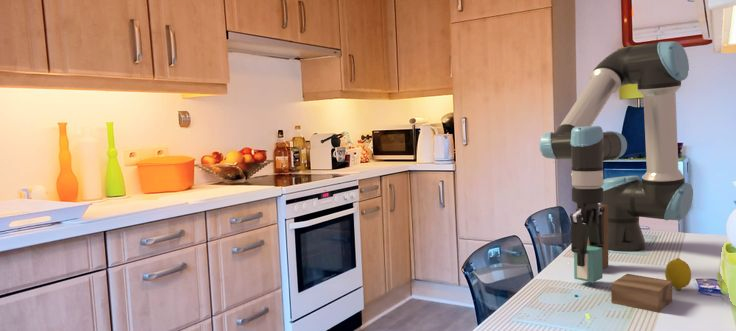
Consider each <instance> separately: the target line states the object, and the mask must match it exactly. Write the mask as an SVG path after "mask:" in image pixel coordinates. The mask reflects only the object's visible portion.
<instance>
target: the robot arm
mask: <svg viewBox="0 0 736 331" xmlns="http://www.w3.org/2000/svg"><path fill="white" fill-rule="evenodd" d="M689 71H690V63H689V58H688V55H687V52H686V50H685V48H684V47H683V45H682V44H681V43H680V42H677V41H674V40H673V41H670V40H669V41H659V42H652V43H647V44H646V43H645V44H639V45H630V46H624V47H620V48H619V49H617V50H614V51H613V52H612V53H610V54H608V55H607V56H606V57H604V59H603V60H601V61H599V63H598V64H597V65H596V66H595V67H594V69H593V71H592V72H591V73H590V75H589V82H587V83H588V84H587V85H586V86H585V88H584V89H583V91H582V92H581V94H580V95H579V97H578V98H577V100H576V101H575V103H574V104H573V105H572V107H571V108H570V110H569V112H568V113H567V114H566V116H565V117H564V119H563V120H562V122H561V123H560V124H559V126H558V128H557V129H556V130H555V132H552V131H551V132H546V133H544V134H543V135H541V137H540V140H539V151H540V153H541V156H543V157H544V158H546V159H552V160H570V161H571V173H570V176H571V185H572V186H573V187H572V188H571V201H572V202H574V203H575V204H576V207H575V212H574V213H570V214H569V220H570V224H571V225H570V232H571V233H570V237H571V238H570V239H571V240H570V243H571V245H570V246H571V247H570V248H571V252H572V253H573V254H574V253H577V277H578V278H583V279H589V272H588V254H587V253H586V251H587V242H588V238H589V244H590V246H593V247H600V248H602V249H603V247H604V246H602V245H603V244H604V210H605V209H604V208H601V207H599V205H598V204H602V205H608V250H609V249H610V250H609V251H619V252H620V251H623V252H625V251H626V252H628V251H630V252H632V251H640V250H643V249H645V248H646V240H645V236H644V234H643V231H642V228H641V226H640V218H647V219H658V220H664V221H682V220H683V219H685V217H686V216H688V213H689V211H690V209H691V207H692V203H693V200H694V199H693V197H694V190H693V186H692V184H691V183H689V182H686V180H685V174H683V173H682V172H681V171H679V170H680V169H679V153H678V152H679V149H678V121H677V94H676V92H677V91H678V90H679V89H680V88H681V87H682V82H683V81H684V80H686V79H687V78H688V76H689ZM627 85H637V91H638V92H639V93H640V94H642V95H643V96H642V97H643V113H644V114H643V115H644V133H645V134H644V136H645V137H644V138H645V156H646V157H645V159H646V172H645V173H644V174H643V175H642V176H641V180H640V176H639V175H624V176H614V177H607V178H604V162H605V161H614V160H616V159H618V158H621V157H622V156H624V154H625V153H626V151H627V148H628V142H627V139H626V138H625V136H624V135H623V134H622V133H621V132H618V131H612V130H611V131H603V128H602V126H599V125H593V124H594V122H595V121H596V119H597V118H598V116H599V115H600V114H601V112H602V110H603V109H604V107H605V105H606V104H607V102H608V101H609V99H610V98H611V97H612V95H613V94H615V93H616V92H618V91H619V90H620V88H621V87H623V86H627Z"/></svg>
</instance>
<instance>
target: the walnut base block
mask: <svg viewBox="0 0 736 331" xmlns="http://www.w3.org/2000/svg"><path fill="white" fill-rule="evenodd" d="M610 284H611V286H610V288H611V292H610V293H611V294H610V295H611V296H610V297H611V300H610V301H611V304H612V305H619V306H624V307H628V308H634V309H638V310H644V311H647V312H648V311H649V312H653V313H659V312H660V311H662V310H663V309H664V308H666V307H667V306H668V305H669V304H670V303H671V302H672V301H673V286H672V281H669V280H666V279H664V278H663V279H662V278H655V277H649V276H644V275H638V274H637V275H636V274H630V273H625V274H624V275H622V276H621V277H619V278H618V279H615V280H614V281H612V282H611V283H610Z"/></svg>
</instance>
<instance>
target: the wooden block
mask: <svg viewBox="0 0 736 331" xmlns="http://www.w3.org/2000/svg"><path fill="white" fill-rule="evenodd" d="M598 205H599V207H601V208H604V209H605V210H604V244H603V245H602V246H604V247H603V249H602V270H604V269H606V268H608V267H609V249H608V205H602V204H600V203H598ZM587 246H590V244H589V238H588V242H587Z"/></svg>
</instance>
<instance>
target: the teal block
mask: <svg viewBox="0 0 736 331" xmlns="http://www.w3.org/2000/svg"><path fill="white" fill-rule="evenodd" d="M586 253H587V254H588V272H589V279H583V278H578V277H577V253H574V252H573V264H574V266H573V267H574V268H573V269H574V270H573V271H574V272H573V273H574V276H573V277H574V280H578V281H584V282H588V283H595V282H598V281H600V280H602V279H603V269H602V248H600V247H593V246H587V251H586Z"/></svg>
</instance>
